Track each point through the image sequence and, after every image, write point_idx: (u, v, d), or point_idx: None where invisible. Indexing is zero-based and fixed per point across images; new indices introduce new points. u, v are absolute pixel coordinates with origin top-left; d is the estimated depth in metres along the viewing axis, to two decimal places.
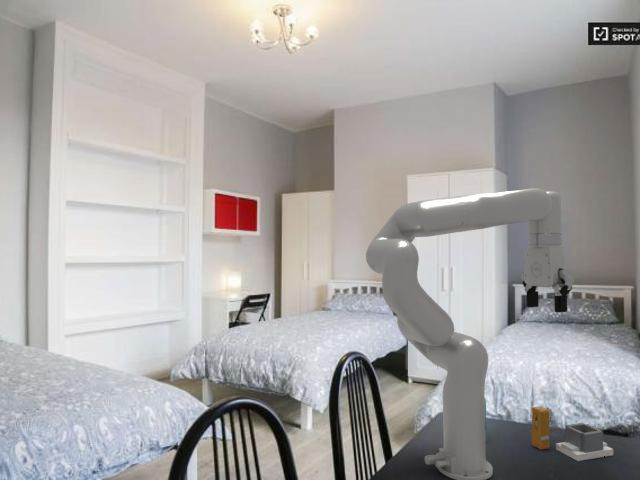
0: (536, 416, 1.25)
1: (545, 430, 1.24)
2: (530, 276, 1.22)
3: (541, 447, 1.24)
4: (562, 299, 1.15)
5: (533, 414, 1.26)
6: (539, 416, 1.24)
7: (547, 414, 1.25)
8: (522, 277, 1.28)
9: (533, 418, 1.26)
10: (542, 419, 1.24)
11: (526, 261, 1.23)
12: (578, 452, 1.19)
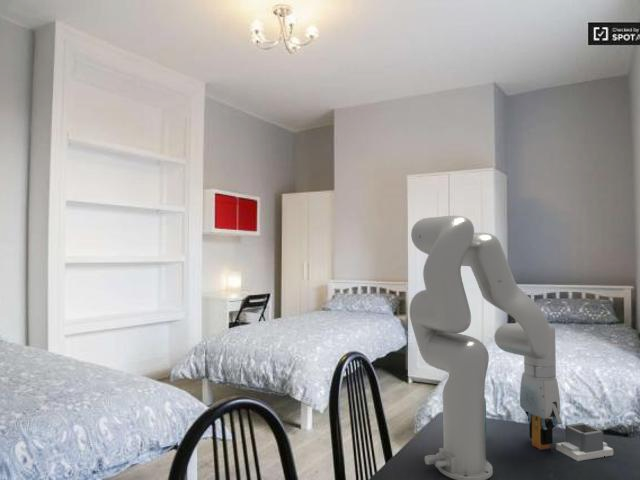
0: (536, 416, 1.25)
1: None
2: (525, 403, 1.27)
3: (541, 447, 1.24)
4: (548, 433, 1.23)
5: None
6: None
7: None
8: None
9: (533, 418, 1.26)
10: None
11: (522, 387, 1.29)
12: (578, 452, 1.19)
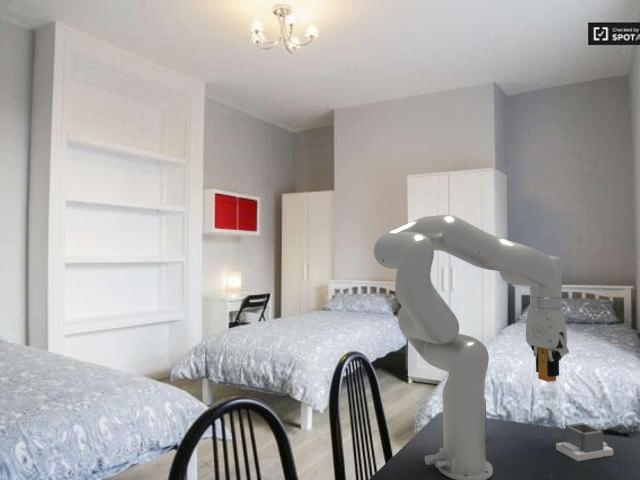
0: (543, 349, 1.25)
1: None
2: (532, 336, 1.26)
3: (548, 379, 1.23)
4: (555, 364, 1.22)
5: (539, 347, 1.26)
6: None
7: None
8: None
9: (539, 351, 1.26)
10: None
11: (528, 321, 1.28)
12: (578, 452, 1.19)
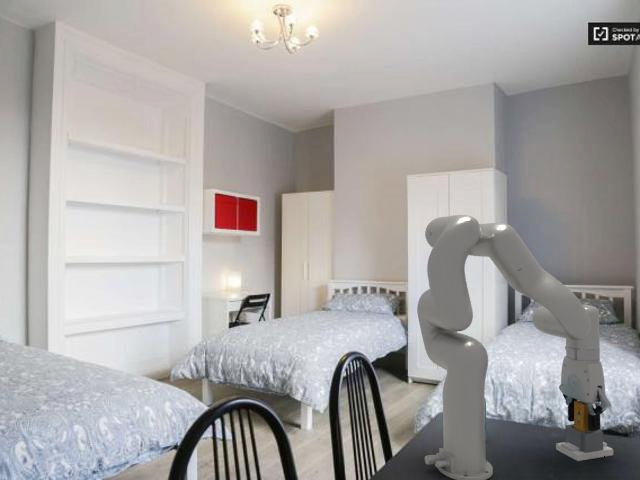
0: (579, 410, 1.22)
1: None
2: (567, 387, 1.23)
3: None
4: (596, 418, 1.18)
5: (575, 408, 1.23)
6: (582, 410, 1.21)
7: None
8: None
9: (575, 412, 1.23)
10: (585, 413, 1.21)
11: (563, 371, 1.25)
12: (578, 452, 1.19)
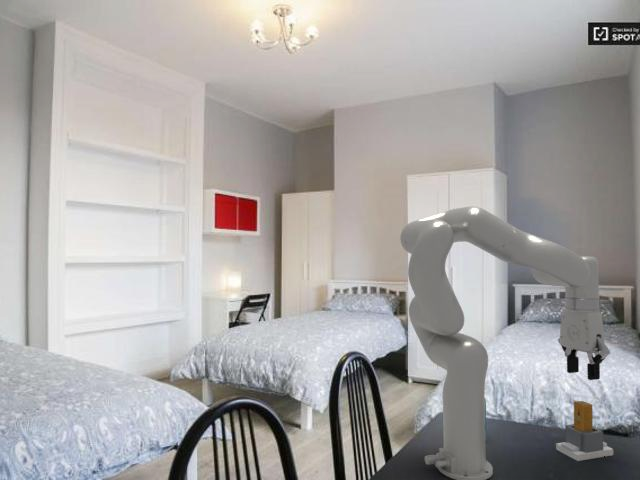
0: (578, 411, 1.22)
1: (588, 425, 1.21)
2: (567, 338, 1.24)
3: None
4: (595, 367, 1.18)
5: (575, 408, 1.23)
6: (582, 410, 1.21)
7: (590, 409, 1.21)
8: (560, 342, 1.29)
9: (575, 412, 1.23)
10: (585, 414, 1.21)
11: (562, 323, 1.25)
12: (578, 452, 1.19)
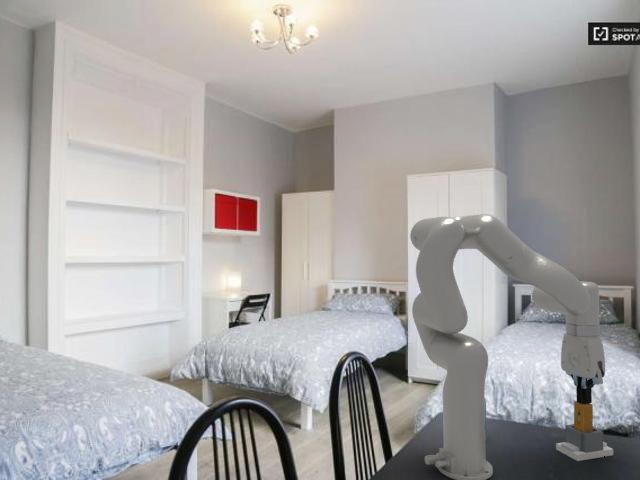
0: (579, 411, 1.22)
1: (588, 425, 1.21)
2: (568, 364, 1.24)
3: None
4: (587, 392, 1.21)
5: (575, 408, 1.23)
6: (582, 410, 1.21)
7: (591, 409, 1.21)
8: (568, 373, 1.26)
9: (575, 412, 1.23)
10: (585, 414, 1.21)
11: (563, 348, 1.25)
12: (578, 452, 1.19)
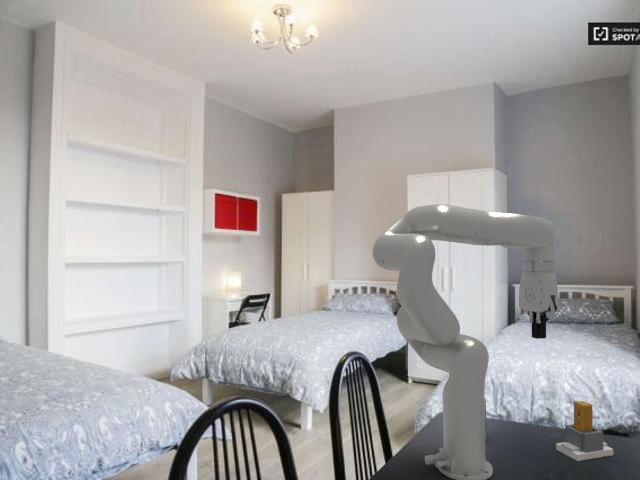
0: (578, 411, 1.22)
1: (588, 425, 1.21)
2: (524, 301, 1.28)
3: None
4: (541, 326, 1.25)
5: (575, 408, 1.23)
6: (582, 410, 1.21)
7: (590, 409, 1.21)
8: (526, 311, 1.30)
9: (575, 412, 1.23)
10: (585, 414, 1.21)
11: (521, 286, 1.29)
12: (578, 452, 1.19)
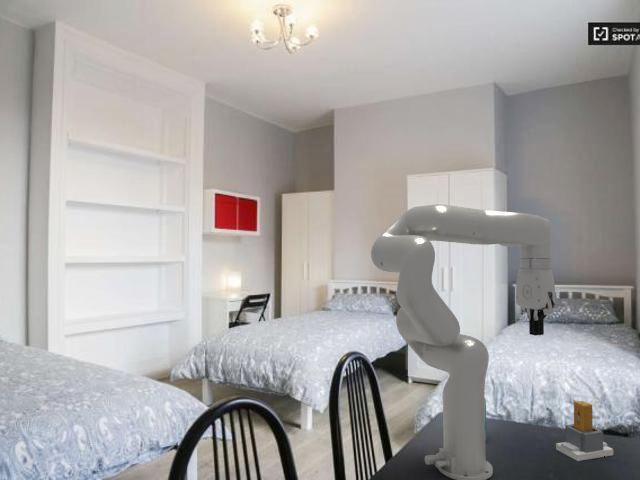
0: (578, 411, 1.22)
1: (588, 425, 1.21)
2: (521, 298, 1.28)
3: None
4: (539, 323, 1.25)
5: (575, 408, 1.23)
6: (582, 410, 1.21)
7: (590, 409, 1.21)
8: (523, 308, 1.31)
9: (575, 412, 1.23)
10: (585, 414, 1.21)
11: (518, 283, 1.30)
12: (578, 452, 1.19)
